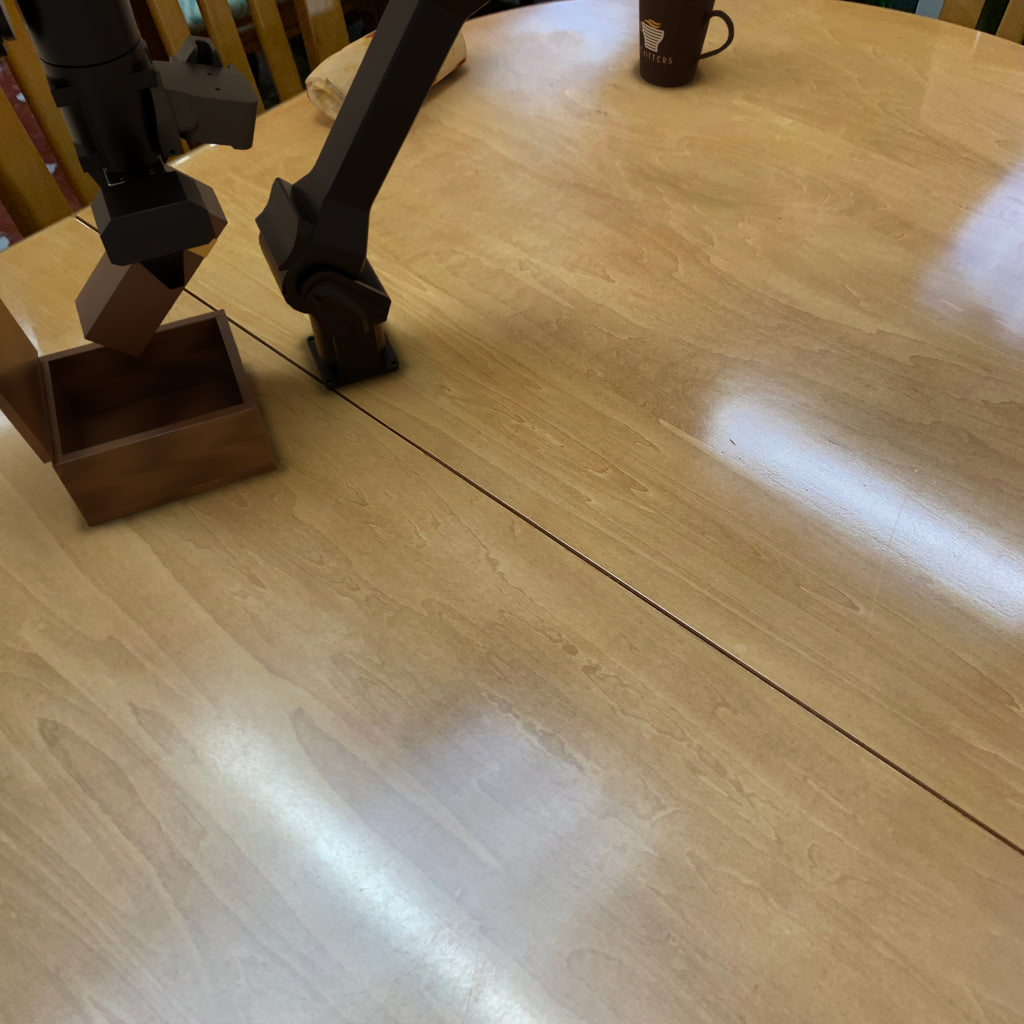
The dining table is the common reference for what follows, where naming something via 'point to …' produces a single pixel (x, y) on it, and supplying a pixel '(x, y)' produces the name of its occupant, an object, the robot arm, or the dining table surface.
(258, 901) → the dining table surface
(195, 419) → the chest
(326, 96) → the food model
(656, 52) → the coffee mug
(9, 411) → the chest lid
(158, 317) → the chocolate box
